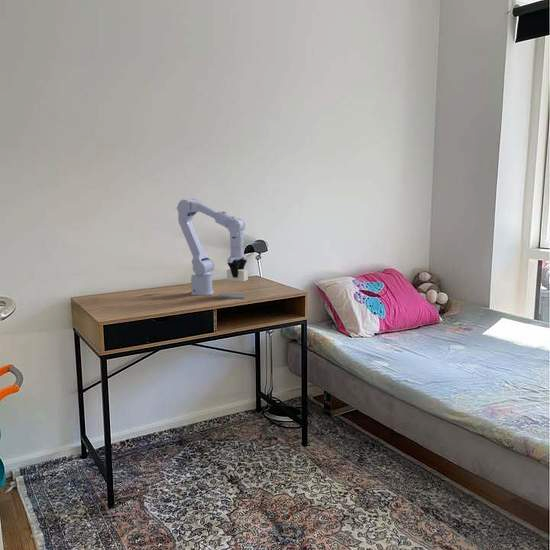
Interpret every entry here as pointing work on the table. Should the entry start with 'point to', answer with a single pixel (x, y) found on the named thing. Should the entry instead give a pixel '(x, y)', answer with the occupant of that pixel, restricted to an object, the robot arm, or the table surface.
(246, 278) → the white rectangular block
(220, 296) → the mat
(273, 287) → the table surface
